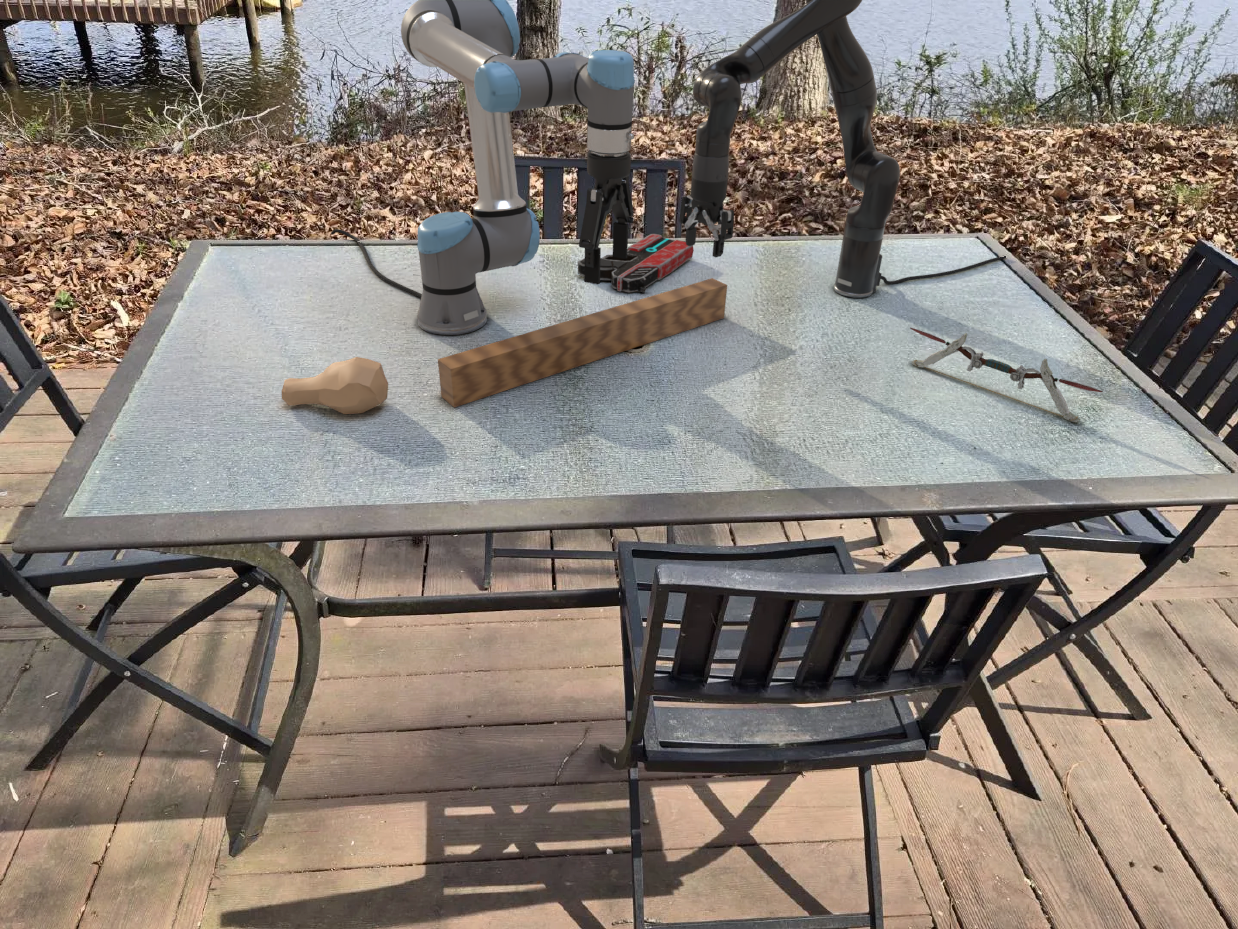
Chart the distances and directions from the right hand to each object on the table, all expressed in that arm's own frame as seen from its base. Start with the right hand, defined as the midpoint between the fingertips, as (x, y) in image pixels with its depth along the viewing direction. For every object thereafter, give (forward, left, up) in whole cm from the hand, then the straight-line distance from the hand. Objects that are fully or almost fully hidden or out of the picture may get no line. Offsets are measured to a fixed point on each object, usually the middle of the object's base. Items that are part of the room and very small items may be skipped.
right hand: (703, 250), depth 191 cm
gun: (-2, -33, -17) cm, 37 cm away
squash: (+82, +6, -17) cm, 84 cm away
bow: (-37, +53, -17) cm, 67 cm away
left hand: (+32, +18, +7) cm, 38 cm away
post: (+29, +6, -17) cm, 34 cm away
